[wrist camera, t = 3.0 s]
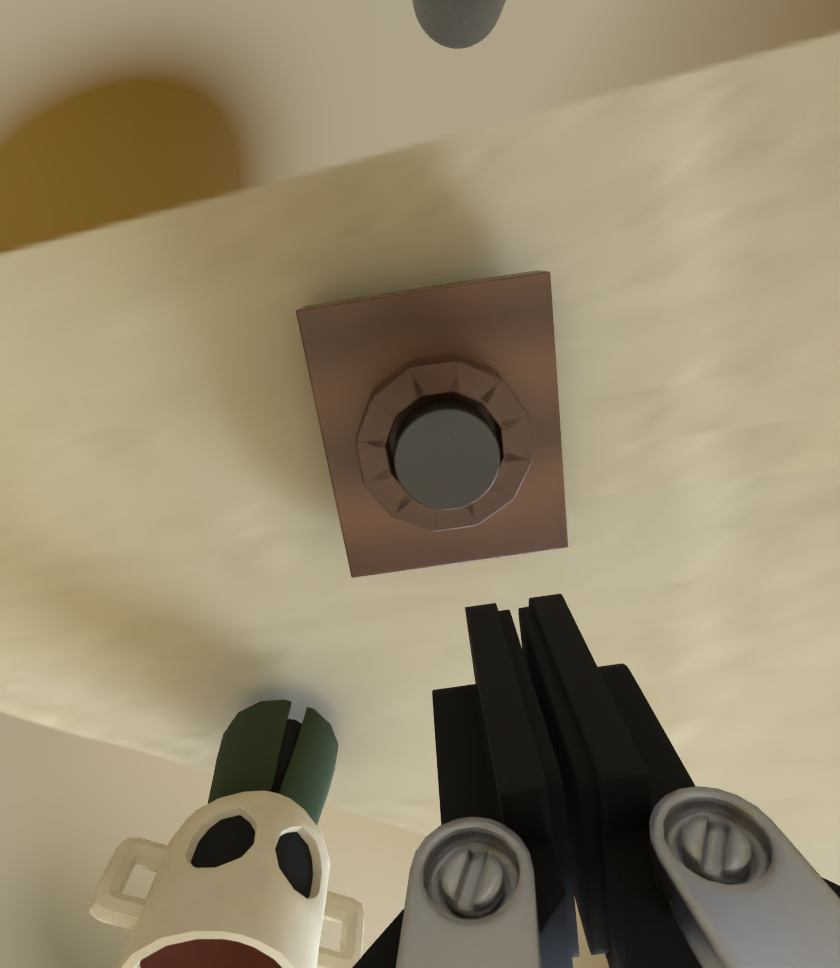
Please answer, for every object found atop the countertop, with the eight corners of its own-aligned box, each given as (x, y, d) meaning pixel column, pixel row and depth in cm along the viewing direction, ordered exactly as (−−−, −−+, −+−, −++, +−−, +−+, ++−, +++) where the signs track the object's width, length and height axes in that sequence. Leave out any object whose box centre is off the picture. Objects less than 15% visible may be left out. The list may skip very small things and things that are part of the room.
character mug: (397, 720, 34) (392, 975, 21) (352, 814, 36) (323, 1096, 23) (206, 657, 32) (80, 892, 20) (169, 758, 34) (34, 1029, 22)
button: (386, 406, 24) (385, 417, 22) (488, 391, 24) (494, 401, 22) (402, 500, 25) (402, 517, 23) (498, 486, 25) (505, 502, 23)
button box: (304, 306, 26) (287, 314, 22) (538, 270, 26) (561, 272, 22) (355, 556, 30) (348, 599, 26) (556, 527, 30) (579, 566, 26)
